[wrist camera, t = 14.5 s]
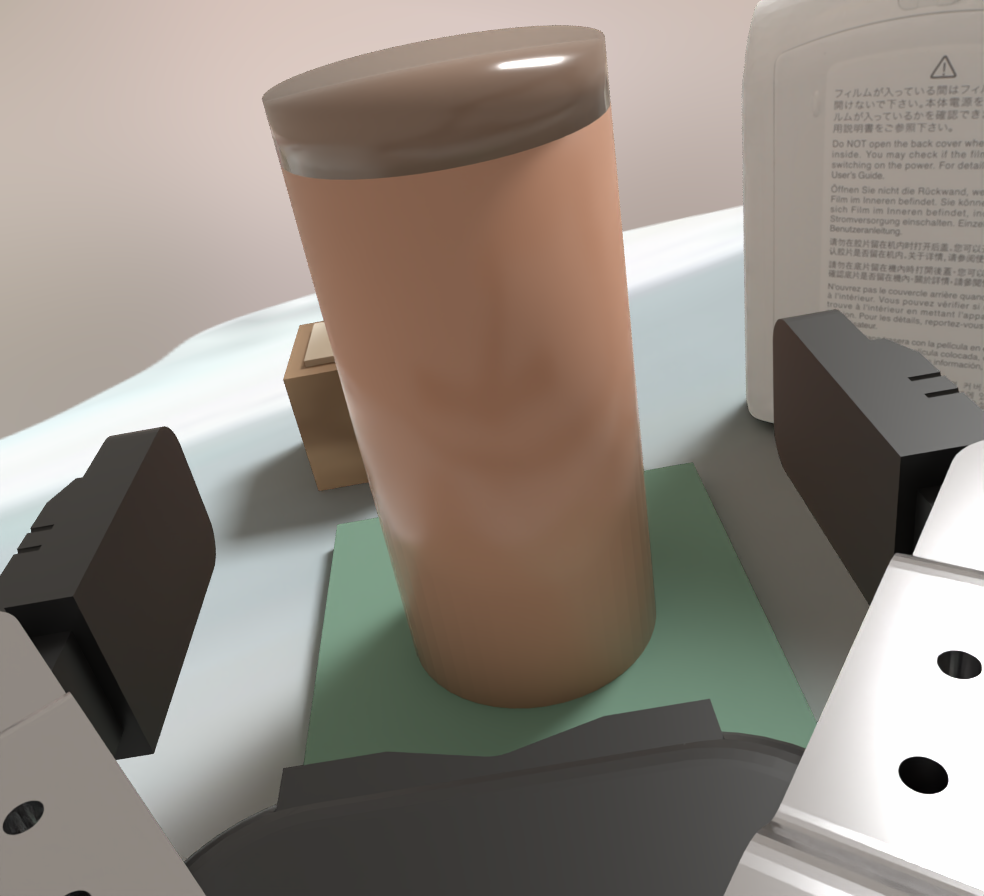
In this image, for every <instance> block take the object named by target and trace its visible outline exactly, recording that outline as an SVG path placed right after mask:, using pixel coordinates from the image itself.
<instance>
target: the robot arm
mask: <svg viewBox="0 0 984 896" xmlns="http://www.w3.org/2000/svg"><path fill="white" fill-rule="evenodd" d="M773 403H774V434H775V441H776V446H777V450H778V454H779V457H780V460H781V463H782V466H783V468H784V470H785V472H786V473H787V475H788V477H789V478H790V480H791V481H792V483H793V484H794V486H795V488H796V489H797V491H798V492H799V494H800V496H801V497H802V499H803V500H804V502H805V504H806V505H807V507H808V508H809V510H810V511H811V513H812V515H813V516H814V518H815V519H816V521H817V523H818V524H819V526H820V527H821V529H822V531H823V532H824V534H825V535H826V537H827V538H828V540H829V542H830V543H831V545H832V546H833V548H834V550H835V551H836V553H837V554H838V556H839V558H840V559H841V561H842V562H843V564H844V565H845V567H846V569H847V570H848V572H849V573H850V575H851V577H852V578H853V580H854V581H855V583H856V585H857V586H858V588H859V589H860V591H861V592H862V594H863V596H864V597H865V599H866V600H867V602H868V604H869V605H870V607H869V609H868V612H867V614H866V616H865V618H864V621H863V623H862V625H861V627H860V629H859V632H858V634H857V636H856V638H855V641H854V643H853V645H852V647H851V649H850V652H849V654H848V656H847V658H846V661H845V663H844V665H843V667H842V669H841V672H840V674H839V676H838V678H837V681H836V683H835V685H834V687H833V689H832V692H831V694H830V696H829V698H828V701H827V703H826V705H825V707H824V709H823V712H822V714H821V716H820V718H819V721H818V723H817V725H816V727H815V729H814V732H813V734H812V736H811V738H810V741H809V743H808V745H807V747H806V748H803V747H800V746H798V745H795V744H792V743H788V742H784V741H780V740H776V739H772V738H768V737H765V736H758V735H752V734H745V733H739V732H723V731H721V729H720V726H719V723H718V720H717V717H716V714H715V712H714V709H713V706H712V703H711V700H710V699H704V700H698V701H692V702H686V703H680V704H674V705H668V706H662V707H656V708H650V709H643V710H637V711H631V712H625V713H619V714H613V715H607V716H603V717H600V718H597V719H595V720H592V721H590V722H587V723H584V724H582V725H579V726H577V727H574V728H571V729H569V730H566V731H564V732H561V733H558V734H556V735H553V736H551V737H548V738H545V739H543V740H540V741H537V742H535V743H532V744H530V745H527V746H524V747H522V748H519V749H517V750H514V751H511V752H509V753H506V754H503V755H498V756H465V755H446V754H426V753H407V752H388V751H387V752H381V753H375V754H368V755H362V756H356V757H350V758H344V759H338V760H332V761H326V762H320V763H313V764H307V765H301V766H295V767H289V768H283V774H282V780H281V786H280V792H279V798H278V804H277V805H274V806H272V807H269V808H267V809H264V810H262V811H260V812H258V813H256V814H254V815H252V816H250V817H248V818H246V819H244V820H242V821H240V822H239V823H237V824H235V825H234V826H232V827H231V828H229V829H227V830H226V831H224V832H222V833H221V834H219V835H218V836H216V837H215V838H214V839H212V840H211V841H210V842H208V843H207V844H205V845H204V846H203V847H201V848H200V849H199V850H197V851H196V852H195V853H194V854H193V855H191V856H190V857H189V858H188V859H187V860H186V861H185V862H183V860H182V859H181V857H180V856H179V854H178V853H177V851H176V850H175V848H174V847H173V845H172V844H171V842H170V841H169V839H168V838H167V836H166V835H165V833H164V832H163V830H162V829H161V827H160V826H159V824H158V823H157V821H156V820H155V818H154V817H153V815H152V814H151V812H150V811H149V809H148V808H147V806H146V805H145V803H144V802H143V800H142V799H141V797H140V796H139V794H138V793H137V791H136V790H135V788H134V787H133V785H132V784H131V782H130V781H129V779H128V778H127V776H126V775H125V773H124V772H123V770H122V769H121V767H120V766H119V764H118V763H117V761H116V760H119V759H125V758H131V757H137V756H143V755H149V754H154V752H155V749H156V746H157V742H158V739H159V736H160V733H161V730H162V727H163V724H164V721H165V718H166V715H167V712H168V709H169V705H170V702H171V699H172V696H173V693H174V690H175V687H176V684H177V681H178V678H179V675H180V672H181V668H182V665H183V662H184V659H185V656H186V653H187V650H188V647H189V644H190V641H191V638H192V634H193V631H194V628H195V625H196V622H197V619H198V616H199V613H200V610H201V607H202V604H203V601H204V597H205V594H206V591H207V588H208V585H209V582H210V579H211V576H212V573H213V570H214V566H215V558H216V548H215V539H214V533H213V529H212V525H211V522H210V519H209V517H208V514H207V511H206V509H205V506H204V504H203V501H202V499H201V496H200V494H199V491H198V489H197V486H196V484H195V481H194V478H193V476H192V473H191V471H190V468H189V466H188V463H187V461H186V458H185V456H184V453H183V451H182V448H181V445H180V443H179V441H178V439H177V437H176V435H175V434H174V433H173V431H172V430H171V429H169V428H168V427H165V426H164V427H159V428H153V429H147V430H142V431H136V432H130V433H125V434H119V435H113V436H109V437H108V438H107V439H106V440H105V442H104V443H103V445H102V446H101V448H100V450H99V451H98V453H97V455H96V456H95V458H94V460H93V461H92V463H91V465H90V466H89V468H88V470H87V471H86V473H85V475H84V476H83V477H82V478H76V479H75V480H74V481H72V482H71V483H70V484H69V485H68V486H66V487H65V488H64V489H63V490H62V491H61V492H59V493H58V494H57V495H56V496H55V497H53V498H52V499H51V500H50V501H49V502H47V503H46V505H45V506H44V508H43V510H42V511H41V513H40V514H39V516H38V517H37V519H36V521H35V522H34V524H33V525H32V527H31V528H30V529H31V533H27V535H26V536H25V538H24V539H23V541H22V542H21V544H20V546H19V547H18V549H17V550H18V554H14V555H13V557H12V558H11V560H10V561H9V563H8V564H7V566H6V567H5V569H4V571H3V572H2V574H1V575H0V896H984V411H983V410H982V409H981V408H980V407H979V406H978V405H977V404H976V403H974V402H973V401H972V400H971V399H970V398H969V397H968V396H967V395H966V394H965V393H963V392H960V393H959V390H958V387H957V386H956V385H955V384H954V383H952V382H951V381H950V380H949V379H948V378H947V377H946V376H941V372H940V371H939V370H938V369H937V368H936V367H935V366H934V365H933V364H932V363H931V362H929V361H928V360H927V359H926V358H925V357H924V356H923V355H922V354H921V353H920V352H918V351H915V350H913V349H910V348H908V347H905V346H903V345H900V344H898V343H895V342H893V341H890V340H888V339H885V338H882V339H876V340H869V339H868V338H867V337H866V336H865V335H864V334H863V333H862V332H861V331H860V330H859V329H858V328H857V327H856V326H855V325H854V324H853V323H852V322H851V321H850V320H849V319H848V318H847V317H846V316H845V315H844V314H843V313H842V312H840V311H839V310H837V309H833V310H827V311H821V312H816V313H810V314H805V315H799V316H793V317H788V318H782V319H778V320H777V321H776V323H775V326H774V330H773Z"/></svg>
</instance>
